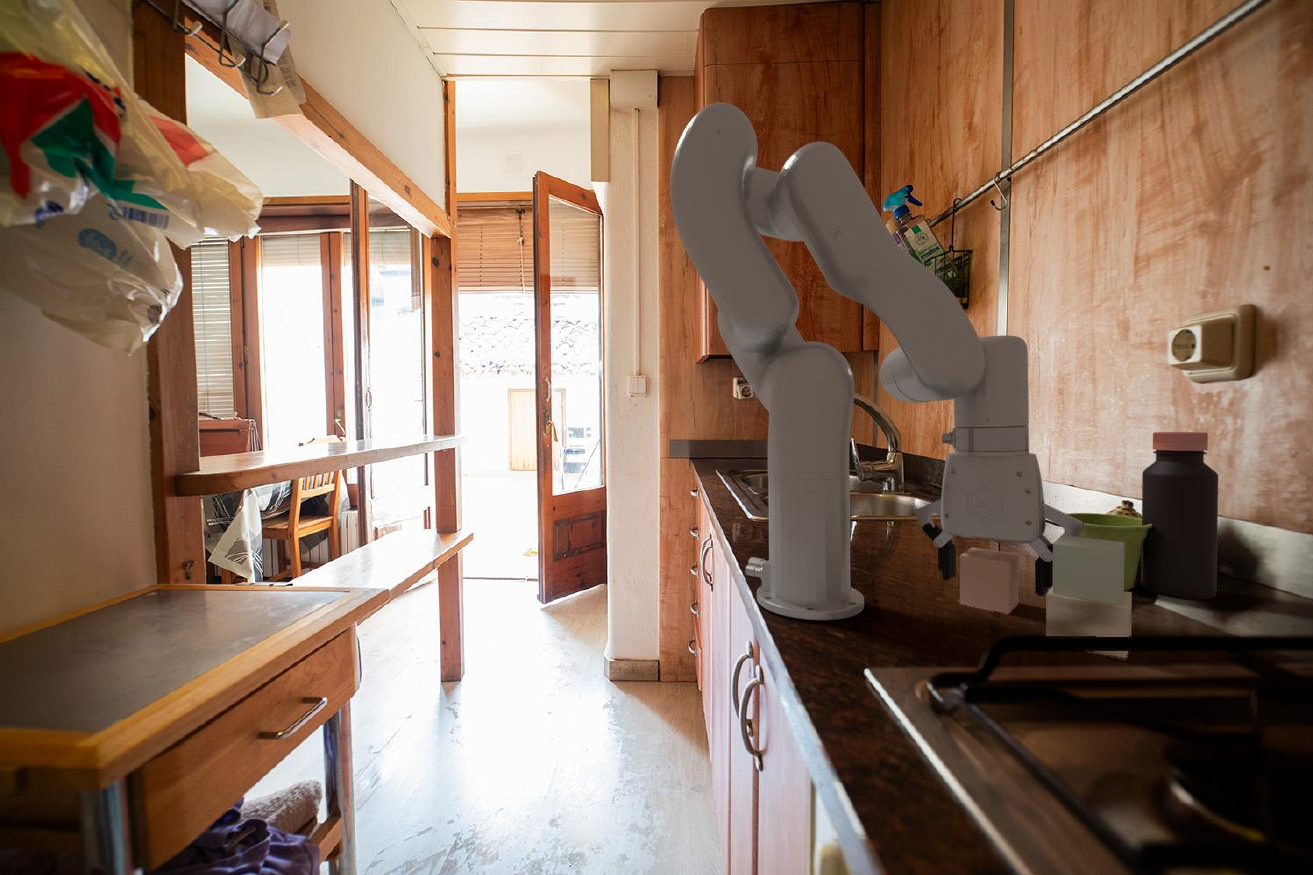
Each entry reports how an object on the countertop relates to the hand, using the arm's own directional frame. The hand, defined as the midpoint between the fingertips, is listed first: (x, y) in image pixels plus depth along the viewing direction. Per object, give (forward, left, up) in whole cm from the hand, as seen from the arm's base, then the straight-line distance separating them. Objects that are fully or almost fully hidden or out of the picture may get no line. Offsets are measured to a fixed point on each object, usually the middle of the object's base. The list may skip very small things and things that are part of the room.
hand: (993, 584), depth 65 cm
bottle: (+16, +20, -3) cm, 25 cm away
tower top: (+10, -6, +3) cm, 12 cm away
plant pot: (+9, +18, -3) cm, 20 cm away
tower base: (+10, -6, -2) cm, 12 cm away
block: (0, 0, -2) cm, 2 cm away
